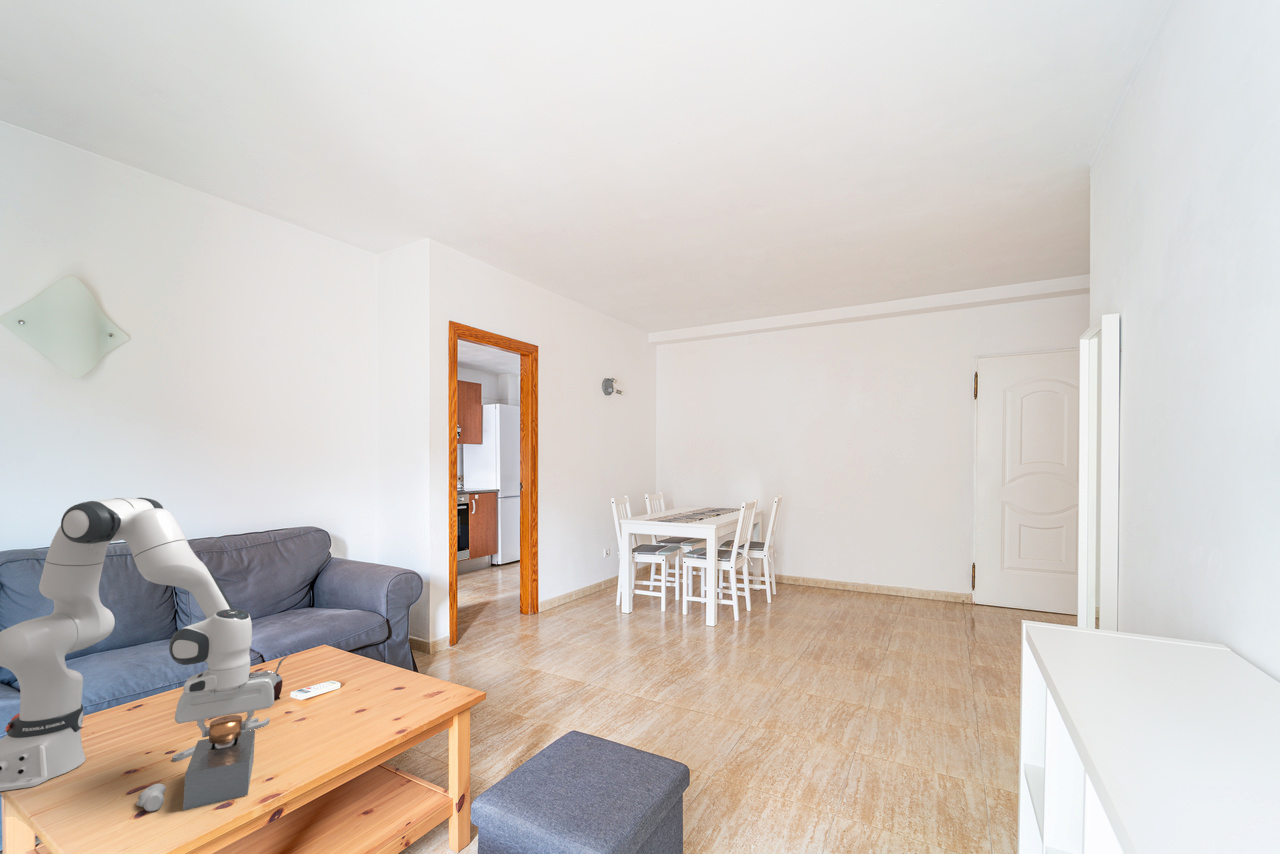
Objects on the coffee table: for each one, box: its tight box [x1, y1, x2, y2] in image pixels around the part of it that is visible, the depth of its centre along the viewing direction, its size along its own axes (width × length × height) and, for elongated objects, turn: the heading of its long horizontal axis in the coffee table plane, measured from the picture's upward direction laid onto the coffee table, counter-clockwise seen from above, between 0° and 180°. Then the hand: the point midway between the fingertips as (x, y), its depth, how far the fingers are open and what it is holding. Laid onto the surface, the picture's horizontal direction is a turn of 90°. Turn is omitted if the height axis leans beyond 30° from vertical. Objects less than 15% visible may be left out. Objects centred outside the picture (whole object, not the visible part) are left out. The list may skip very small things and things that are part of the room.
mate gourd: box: [274, 654, 290, 701], centre depth 187 cm, size 8×8×15 cm
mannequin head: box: [135, 783, 167, 812], centre depth 129 cm, size 4×8×5 cm
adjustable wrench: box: [171, 717, 270, 762], centre depth 160 cm, size 25×6×2 cm, turn 155°
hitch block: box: [182, 730, 256, 812], centre depth 138 cm, size 12×18×8 cm, turn 31°
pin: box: [208, 714, 243, 749], centre depth 142 cm, size 7×7×11 cm
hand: (225, 732), depth 142 cm, fingers closed on pin, 6 cm apart
